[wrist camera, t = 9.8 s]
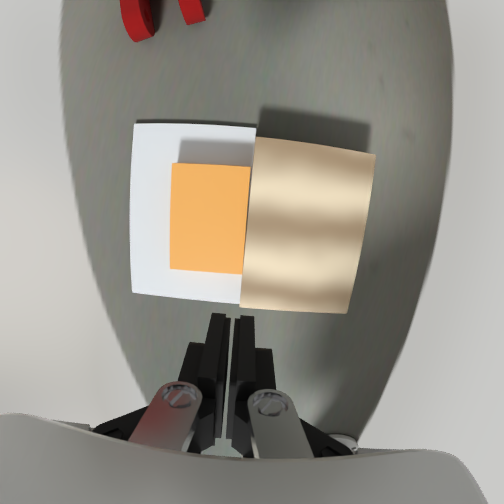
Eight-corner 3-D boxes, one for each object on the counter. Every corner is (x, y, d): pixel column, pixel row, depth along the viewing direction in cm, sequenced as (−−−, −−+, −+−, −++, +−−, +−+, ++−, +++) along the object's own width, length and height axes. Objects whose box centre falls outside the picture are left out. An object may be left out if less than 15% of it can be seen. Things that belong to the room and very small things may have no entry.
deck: (339, 300, 33) (346, 313, 30) (240, 293, 32) (239, 307, 30) (364, 154, 28) (375, 154, 25) (255, 138, 28) (255, 136, 25)
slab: (242, 266, 31) (242, 274, 29) (174, 261, 31) (169, 268, 29) (250, 166, 28) (250, 167, 26) (177, 162, 28) (172, 163, 26)
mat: (239, 302, 33) (239, 303, 32) (133, 290, 32) (132, 292, 32) (256, 128, 27) (256, 128, 27) (135, 124, 27) (134, 123, 26)
